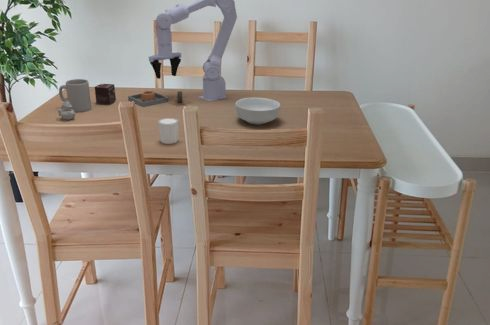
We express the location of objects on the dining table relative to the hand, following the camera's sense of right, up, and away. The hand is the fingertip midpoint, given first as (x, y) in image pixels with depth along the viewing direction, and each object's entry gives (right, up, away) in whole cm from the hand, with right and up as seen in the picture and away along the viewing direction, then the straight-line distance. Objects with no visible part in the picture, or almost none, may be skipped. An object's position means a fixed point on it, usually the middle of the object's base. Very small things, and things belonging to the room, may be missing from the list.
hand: (166, 76), depth 199 cm
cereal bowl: (+38, -20, -19) cm, 46 cm away
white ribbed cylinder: (+7, -29, -39) cm, 49 cm away
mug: (-34, -15, -10) cm, 38 cm away
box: (-25, -11, -1) cm, 27 cm away
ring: (-8, -10, +1) cm, 13 cm away
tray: (-7, -10, 0) cm, 13 cm away
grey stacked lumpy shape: (-33, -20, -21) cm, 44 cm away
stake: (+6, -11, -1) cm, 13 cm away
